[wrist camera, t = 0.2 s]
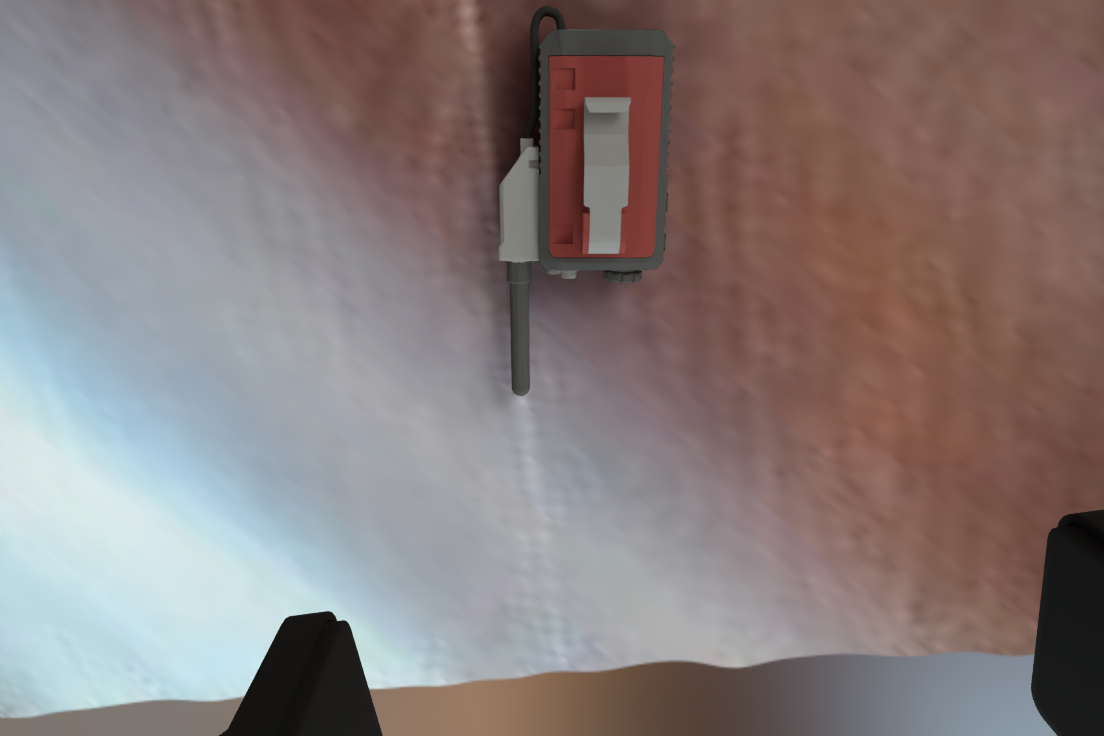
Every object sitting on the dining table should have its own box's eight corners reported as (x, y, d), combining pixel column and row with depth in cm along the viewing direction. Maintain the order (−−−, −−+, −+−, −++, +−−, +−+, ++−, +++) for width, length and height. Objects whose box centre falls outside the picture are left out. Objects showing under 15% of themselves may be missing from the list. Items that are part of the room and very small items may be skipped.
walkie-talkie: (494, 10, 35) (503, 386, 41) (488, -5, 30) (498, 416, 37) (671, 11, 35) (651, 386, 41) (688, -4, 31) (663, 416, 37)
